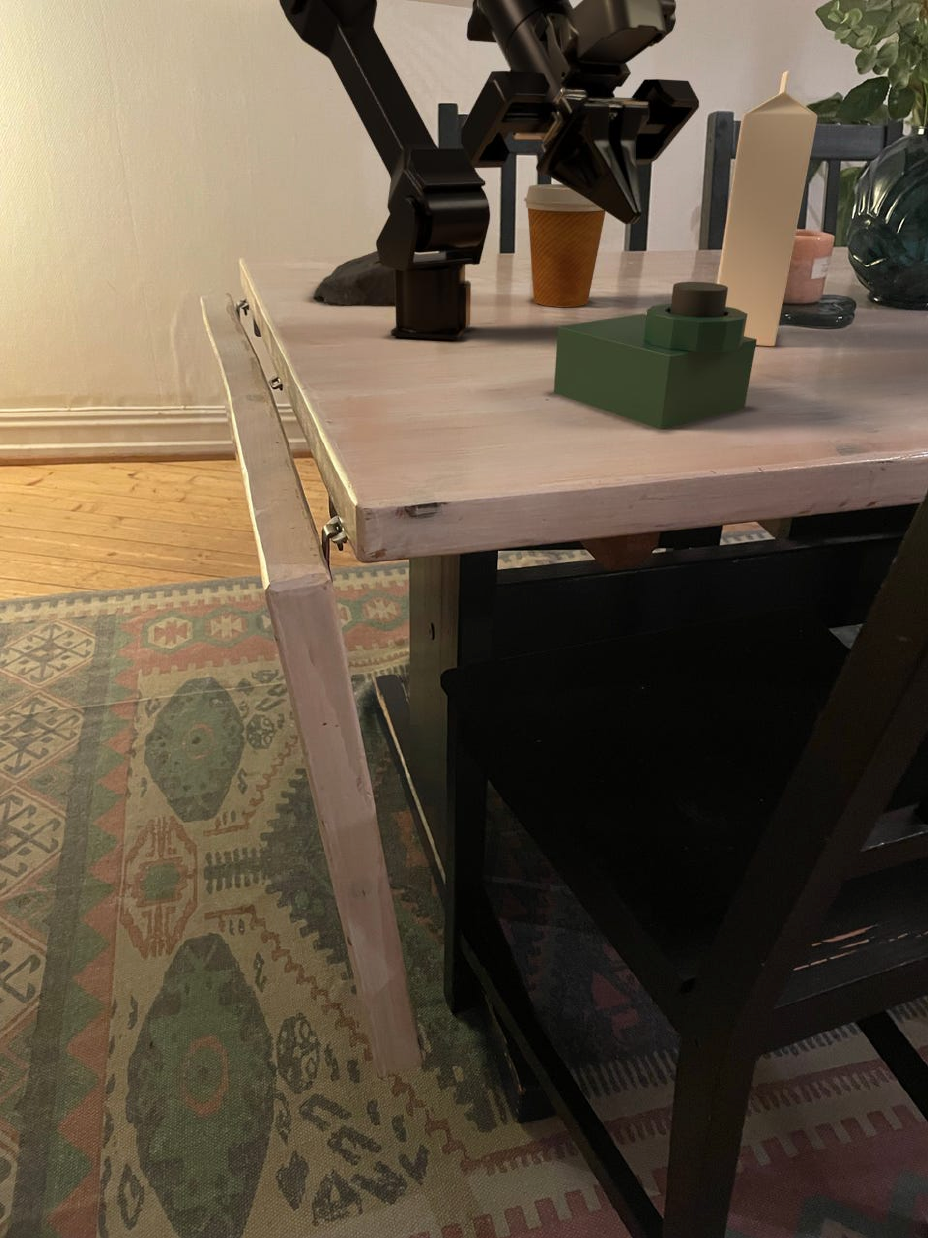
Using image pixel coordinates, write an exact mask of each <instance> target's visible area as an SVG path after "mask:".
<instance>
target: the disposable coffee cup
mask: <svg viewBox="0 0 928 1238" xmlns="http://www.w3.org/2000/svg"><path fill="white" fill-rule="evenodd" d="M523 201H524V202H525V208H527V219H528V220H527V221H528V232H529V233H528V235H529V246H530V247H529V249H530V260H531V261H530V263H531V279H532V281H531V282H532V294H533V302H534V303H535V304H538V305H541V306H546V307H548V306H549V307H557V308H559V307H560V308H572V307H581V306H585V305H587V304H588V303H589V299H590V293H591V288H592V283H593V282H592V281H593V278H594V274H595V269H596V263H597V259H598V258H597V257H598V253H599V248H600V244H601V238H602V233H603V227H604V223H605V219H606V218H605V217H606V213H607V212H606V211H605V210H603V209H602V208H600V207H599V206H597V205H596V204H594V203H593V202H591V201H590V200H588V199H586V198H585V197H583V196H582V195H580V194H579V193H577V192H575V191H574V190H572V189H570V188H569V187H567V186H565V185H563V184H562V183H560V184H559V183H558V184H556V183H554V184H553V183H549V184H546V183H545V184H543V183H542V184H532V185H531V184H530V185H529V186H528V189H527V193H526V197H524V198H523Z"/></svg>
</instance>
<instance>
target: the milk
mask: <svg viewBox="0 0 928 1238" xmlns="http://www.w3.org/2000/svg"><path fill="white" fill-rule="evenodd" d="M789 71H790V70H789V69H788V70H785V71H784V72H783V73H782V74H781V75H782V76H781V81H780V87H779V91H778V92H779V93H778V94H776V95H774V96H773V97H771V98H769V99H767V100H766V101H764V102H762V103H761V104H759V105H758V106H756V107H754V108H753V109H750V110H749V111H747V112H745V113H744V114H742V115H741V119H740V127H739V134H738V140H737V147H736V154H735V159H734V167H733V173H732V179H731V180H732V181H731V187H730V194H729V195H730V196H729V201H728V206H727V207H728V208H727V212H726V213H727V214H726V222H725V225H724V234H723V240H722V247H721V254H720V260H719V268H718V274H717V281H716V284H721V285H724V286H727V287H728V292H727V299H726V305H725V307H730V308H736V309H738V310H740V311H742V312H744V313H747V320H746V326H745V332H744V336H745V337H749V338H754V339H757V341H756V346H762V347H763V346H764V347H775V345H776V341H777V336H778V330H779V325H780V319H781V313H782V308H783V303H784V297H785V293H786V287H787V283H788V277H789V271H790V265H791V260H792V254H793V250H794V245H795V239H796V233H797V228H798V222H799V218H800V212H801V208H802V207H801V206H802V201H803V196H804V192H805V186H806V181H807V175H808V170H809V165H810V159H811V153H812V149H813V144H814V139H815V138H814V137H815V133H816V127H817V121H818V114H816V113H815V112H814V111H812V110H811V109H810V108H808V107H807V106H806V105H804V104H803V103H802V102H800V101H799V100H798V99H796V98H795V97H794V96H792V95H791V94H790V93H788V92H787V84H788V77H789V73H790V72H789Z"/></svg>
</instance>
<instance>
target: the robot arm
mask: <svg viewBox="0 0 928 1238" xmlns="http://www.w3.org/2000/svg"><path fill="white" fill-rule="evenodd" d="M278 2H279V5H280V7H281V9H282V11H283V14H284V16H285V18H286V20H287V22H288V23H289V25H290V26H291V27H292V29H293V30H294V31H295V33H296V34H297V36H298V37H299V38H300V39H301V41H302V42H303V43H305V44H306V45H308V46H309V47H311V48H312V49H314V50H315V51H317V52H319V53H320V54H322V55H323V56H325V58H327V59H328V60H329V61H330V62H331V65H332V66H333V68H334V71H335V73H336V74H337V76H338V78H339V81H340V82H341V84H342V86H343V88H344V90H345V92H346V93H347V96H348V98H349V99H350V102H351V104H352V105H353V107H354V109H355V111H356V113H357V115H358V117H359V119H360V121H361V123H362V125H363V127H364V129H365V130H366V132H367V134H368V137H369V138H370V140H371V142H372V144H373V146H374V148H375V150H376V152H377V154H378V155H379V157H380V159H381V162H382V164H383V166H384V167H385V169H386V171H387V173H388V175H389V178H390V184H389V189H388V190H389V191H388V197H387V205H386V207H387V210H388V212H389V215H388V217H387V219H386V221H385V223H384V225H383V227H382V229H381V231H380V232H379V234H378V237H377V239H376V241H375V247H376V251H377V252H378V257H379V262H380V265H381V266H385V267H389V268H393V269H395V305H394V306H395V327H394V328H392V329H391V330H390V335H391V337H399V338H416V339H417V338H419V339H435V340H437V339H438V340H458V339H459V338H460V337H461V336H462V335H463V334H464V332H465V331H466V330H467V329H468V328H469V326H471V301H472V300H471V299H472V298H471V297H472V295H471V294H472V292H471V291H472V283H471V281H469V280H466V265H471V266H478V265H480V263H481V260H482V256H483V251H484V247H485V244H486V239H487V234H488V232H489V231H488V230H489V226H490V223H491V210H490V209H491V207H490V203H489V199H488V197H487V194H486V192H485V190H484V189H483V187H484V186H486V180H484V179H483V178H482V177H481V176H480V175H479V173H478V172H477V170H476V169H497V168H498V169H499V168H500V169H501V168H503V167H504V166H505V164H506V162H507V160H508V157H509V155H510V153H511V151H510V150H509V147H508V146H507V144H506V139H507V137H508V136H509V134H512V137H513V138H514V140H532V141H541V142H542V143H541V148H542V149H543V154H542V156H541V158H540V159H539V161H538V162H537V163H536V166H535V169H536V171H537V173H538V174H539V175H541V176H547V177H550V178H552V179H553V180H555V181H557V182H559V183H560V184H563V185H565V186H567V187H569V188H570V189H572V190H574V191H575V192H577V193H579V194H580V195H582V196H583V197H585V198H586V199H588V200H590V201H591V202H593V203H594V204H596V205H597V206H599V207H600V208H602V209H603V210H605V211H606V212H605V213H608V214H609V215H611V216H612V217H614V218H615V219H616V220H618V221H620V223H622V224H624V225H634V224H636V223H637V221H638V220H639V219H640V218H641V217H642V214H643V209H642V202H641V193H640V185H639V184H640V183H639V176H638V175H639V174H638V167H637V166H638V165H639V166H641V165H650V164H651V163H654V162H656V161H657V160H658V159H659V157H661V156H662V154H663V153H664V151H665V150H666V149H667V148H668V147H669V145H670V144H671V143H672V142H673V140H674V139H675V138H676V137H677V135H678V134H679V133H680V132H681V130H682V129H683V128H684V127H685V126H686V124H687V123H688V122H689V121H690V119H691V118H692V117H693V115H694V114H695V113H696V112H697V111H698V109H700V100H699V98H698V96H697V95H696V92H695V91H694V89H693V87H692V85H691V83H690V81H689V80H681V79H666V78H665V79H663V78H649V79H648V78H647V79H643V81H642V82H641V83H640V84H639V86H638V88H637V89H636V90H635V92H634V93H633V95H632V96H631V97H619V96H618V97H616V96H615V94H614V92H615V90H616V89H617V88H622V87H623V85H624V84H625V83H626V81H627V80H628V78H629V77H630V75H632V72H631V69H630V68H629V66H628V64H627V63H629V62H631V60H633V59H634V58H636V57H637V56H638V55H640V54H641V53H643V51H645V50H646V49H648V48H649V47H650V48H651V47H654V46H655V45H656V44H659V43H660V42H662V41H663V40H664V39H665V38H666V37H667V36H668V35H669V34H671V33H672V32H673V30H674V29H675V25H676V23H677V18H676V9H677V3H676V0H581V1H580V2H579V3H578V4H577V5H576V6H575V7H573V6H572V3H571V2H570V0H473V1H472V11H471V15H470V17H469V19H468V22H467V26H466V39H467V40H468V41H469V42H481V43H492V44H493V43H494V44H497V46H498V48H499V49H500V52H501V54H502V56H503V57H504V60H505V62H506V63H507V66H508V68H509V70H492V71H491V72H490V74H489V76H488V78H487V80H486V81H485V83H484V84H483V87H482V88H481V91H480V92H479V94H478V96H477V98H476V100H475V102H474V103H473V106H472V107H471V109H470V111H469V113H468V114H467V116H466V119H465V120H464V122H463V124H462V126H461V128H460V144H461V146H462V147H439V146H437V144H436V142H435V141H434V139H433V137H432V135H431V133H430V131H429V130H428V128H427V125H426V124H425V122H424V120H423V118H422V116H421V114H420V112H419V110H418V109H417V107H416V105H415V103H414V102H413V99H412V97H411V96H410V94H409V92H408V89H407V88H406V86H405V84H404V83H403V80H402V79H401V77H400V74H399V73H398V71H397V69H396V67H395V66H394V64H393V62H392V60H391V58H390V56H389V55H388V53H387V51H386V49H385V46H384V45H383V43H382V41H381V40H380V38H379V36H378V34H377V32H376V29H375V21H376V16H377V15H376V14H377V8H378V0H278ZM422 253H423V254H422ZM414 254H418V255H414Z"/></svg>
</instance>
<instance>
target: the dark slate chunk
mask: <svg viewBox="0 0 928 1238" xmlns="http://www.w3.org/2000/svg"><path fill="white" fill-rule="evenodd" d="M418 254H419V253H415V254H414V255H418ZM312 299H313V300H314V301H317V302H321V303H322V302H325V303H326V304H327V305H331V306H332V305H333V306H334V305H340V306H353V305H361V306H395V269H393V268H389V267H385V266H381V265H380V262H379V257H378V252H377V250H375V251H373V252H371V253H368V254H365V255H362V256H359V257H357V258H356V257H355V258H353V259H349V260H347V261H346V262H344V263H341V264H339V265H337V266H336V268H335V269H334V270H333V271H332V273H330V274H329V275H327V276H326V277H324V278H323V279H322V281H321V282H320V283H319V285H318V286H317V288H316V289H315V292H314V294H313V298H312Z"/></svg>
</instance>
